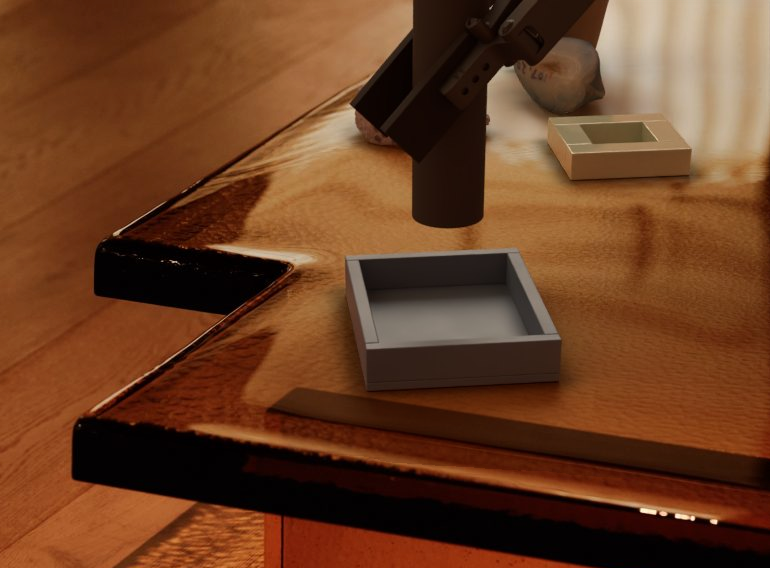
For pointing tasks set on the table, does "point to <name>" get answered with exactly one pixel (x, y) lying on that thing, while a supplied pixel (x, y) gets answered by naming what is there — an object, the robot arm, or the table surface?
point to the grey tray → (449, 320)
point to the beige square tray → (618, 146)
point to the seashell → (564, 76)
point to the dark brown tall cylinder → (463, 139)
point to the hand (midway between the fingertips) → (384, 132)
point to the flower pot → (589, 23)
